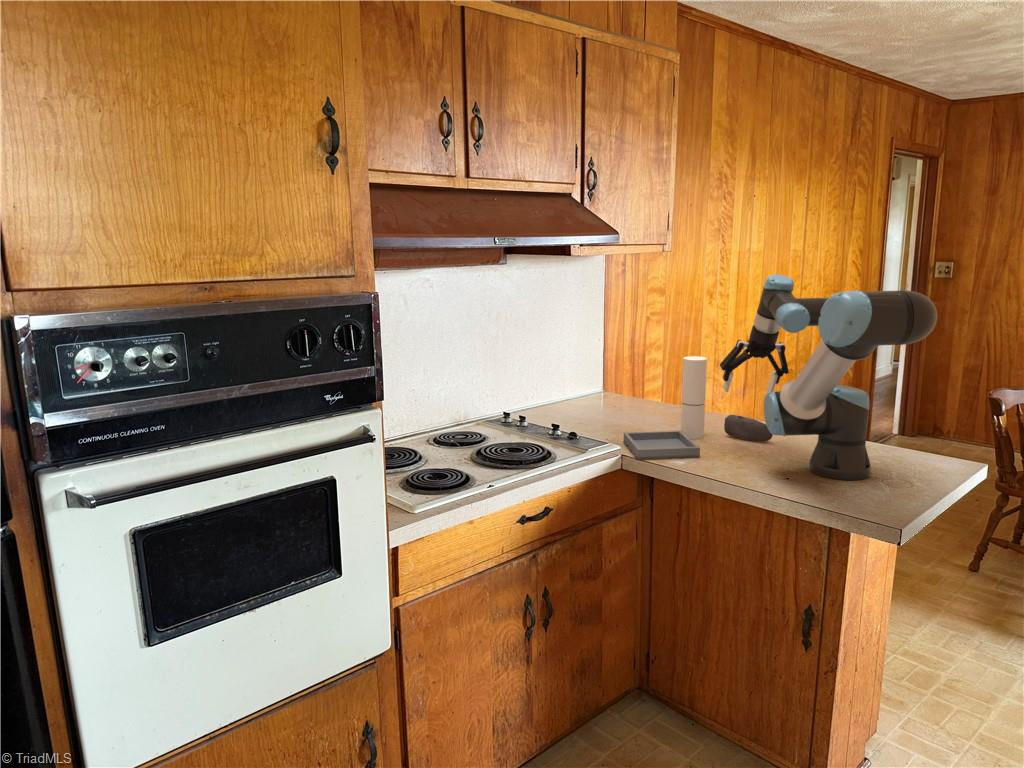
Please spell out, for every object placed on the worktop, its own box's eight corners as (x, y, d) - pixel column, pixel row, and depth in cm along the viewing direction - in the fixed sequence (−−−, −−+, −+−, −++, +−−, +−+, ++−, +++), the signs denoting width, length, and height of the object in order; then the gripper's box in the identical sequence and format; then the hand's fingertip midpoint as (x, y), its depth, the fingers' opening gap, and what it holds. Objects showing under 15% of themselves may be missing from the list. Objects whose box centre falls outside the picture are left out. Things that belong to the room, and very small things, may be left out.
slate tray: (699, 457, 209) (700, 447, 208) (638, 460, 207) (638, 449, 207) (680, 439, 226) (680, 430, 226) (623, 442, 225) (623, 432, 224)
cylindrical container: (705, 434, 232) (708, 357, 227) (701, 440, 226) (704, 360, 221) (683, 431, 235) (685, 355, 230) (678, 437, 229) (681, 359, 224)
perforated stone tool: (775, 442, 223) (776, 420, 221) (767, 446, 219) (769, 423, 218) (730, 433, 233) (731, 412, 232) (722, 437, 229) (723, 415, 228)
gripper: (803, 324, 212) (783, 386, 223) (720, 319, 210) (703, 382, 221) (813, 336, 205) (792, 399, 216) (727, 331, 204) (710, 395, 214)
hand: (747, 391), depth 219 cm, fingers open, 13 cm apart
